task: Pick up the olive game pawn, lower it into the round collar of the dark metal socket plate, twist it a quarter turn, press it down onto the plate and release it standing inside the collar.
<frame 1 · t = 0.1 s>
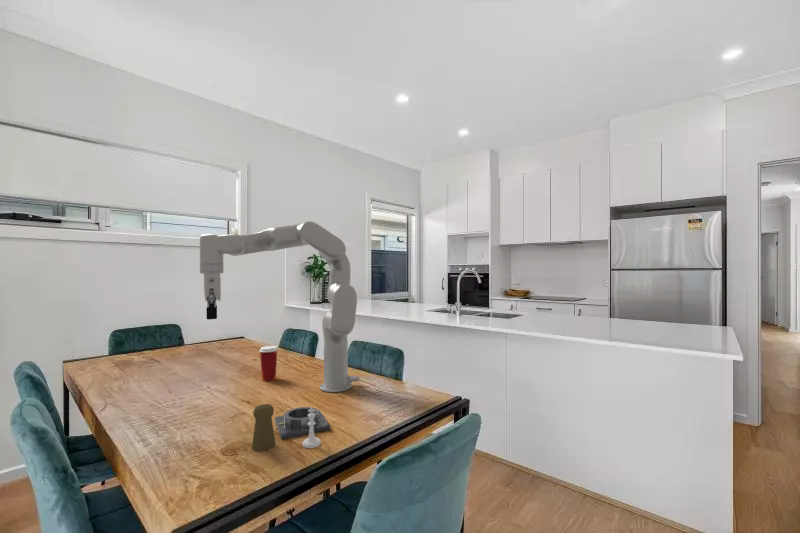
hand: (211, 317, 135), 31 cm above the table, fingers open, 9 cm apart
paper cup: (268, 379, 167), on the table
chess piece: (311, 444, 105), on the table
olive game pawn: (263, 446, 104), on the table
socket: (301, 425, 117), on the table
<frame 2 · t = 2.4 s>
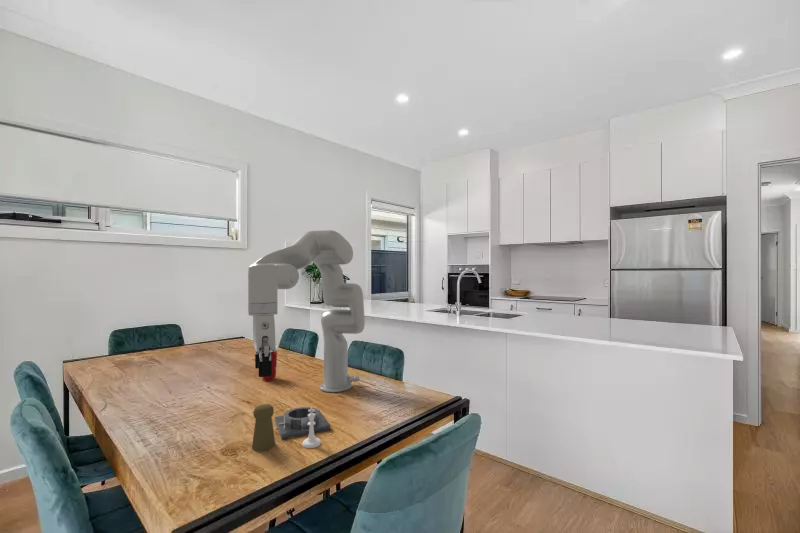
hand: (263, 371, 104), 20 cm above the table, fingers open, 9 cm apart
nothing on the table moved.
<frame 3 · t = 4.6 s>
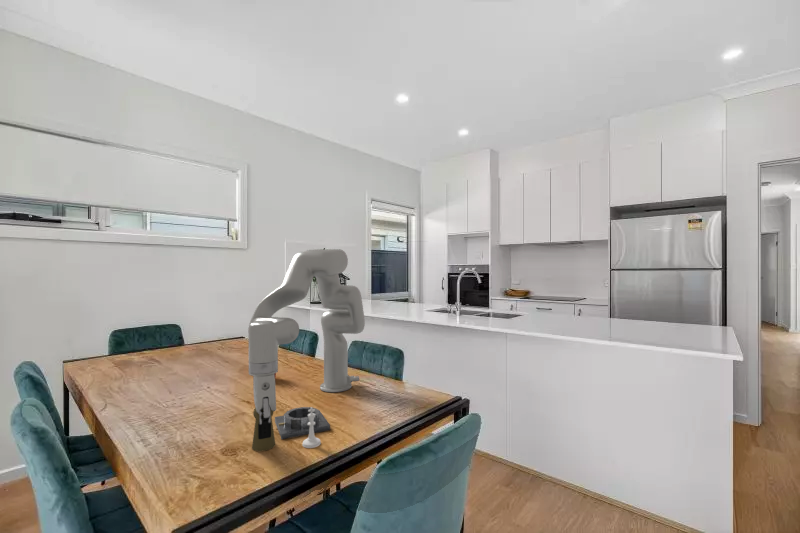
hand: (263, 433, 104), 3 cm above the table, fingers closed on olive game pawn, 4 cm apart
olive game pawn: (263, 446, 104), on the table, touching gripper
everything else where it was.
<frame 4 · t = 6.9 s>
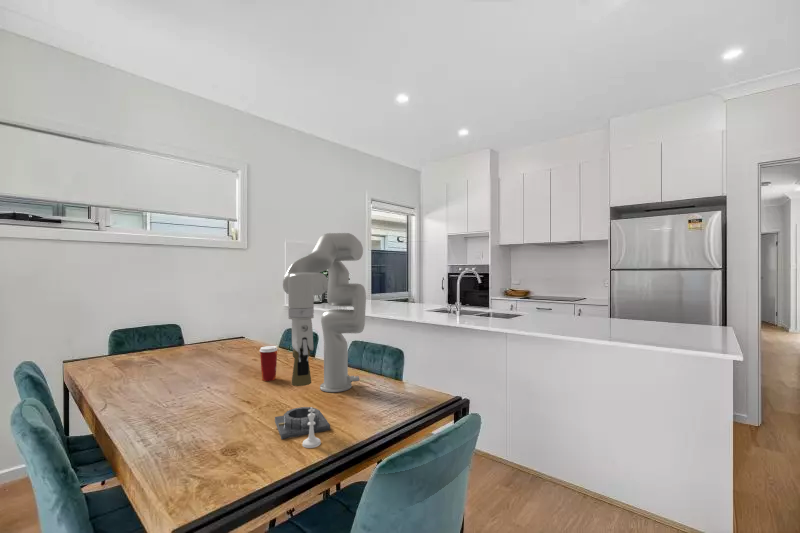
hand: (301, 372, 117), 16 cm above the table, fingers closed on olive game pawn, 4 cm apart
olive game pawn: (301, 383, 117), point 13 cm above the table, touching gripper
everything else where it was.
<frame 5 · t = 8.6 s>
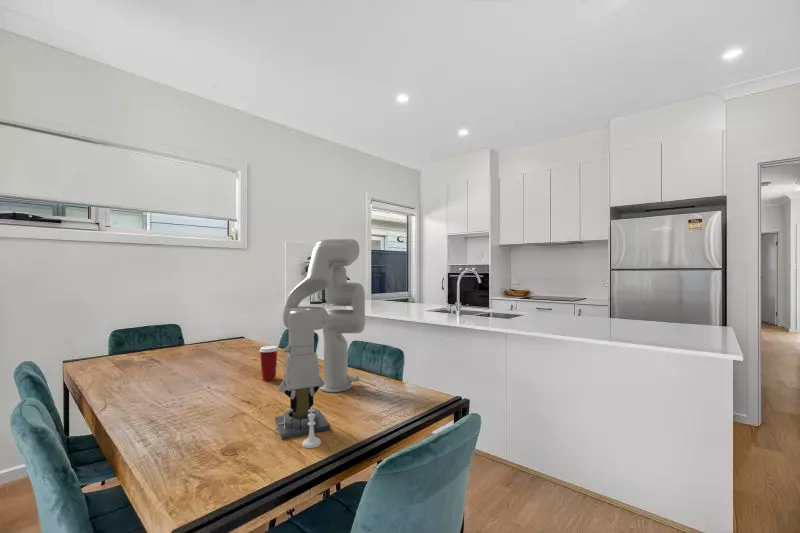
hand: (301, 408, 117), 5 cm above the table, fingers closed on olive game pawn, 4 cm apart
olive game pawn: (302, 420, 117), point 2 cm above the table, touching gripper
everything else where it was.
when the fingers open (5 cm above the table, at t = 9.4 s): olive game pawn stays where it is, resting on socket.
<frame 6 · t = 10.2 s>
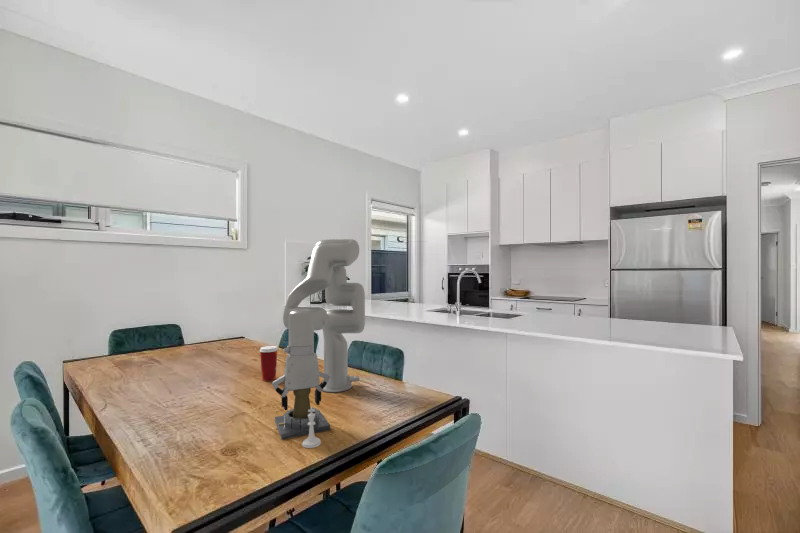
hand: (301, 406, 117), 6 cm above the table, fingers open, 9 cm apart
olive game pawn: (302, 421, 117), point 1 cm above the table, touching socket
everything else where it was.
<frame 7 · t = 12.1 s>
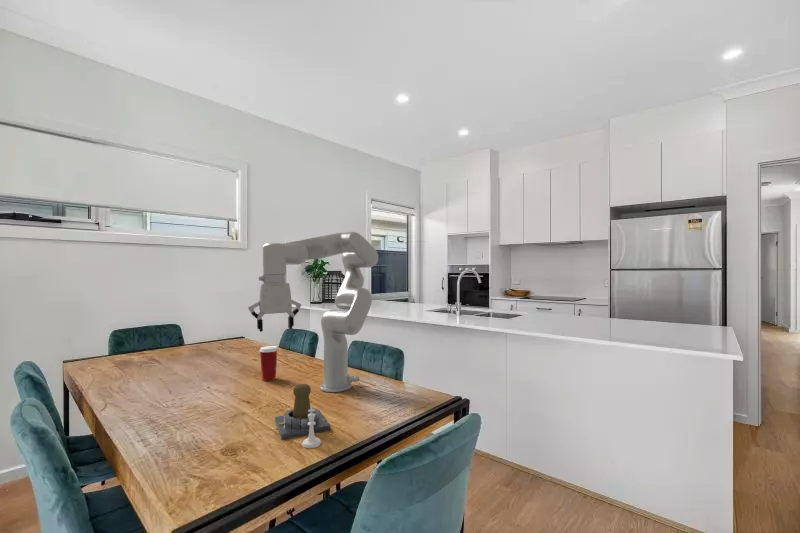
hand: (275, 329, 130), 28 cm above the table, fingers open, 9 cm apart
nothing on the table moved.
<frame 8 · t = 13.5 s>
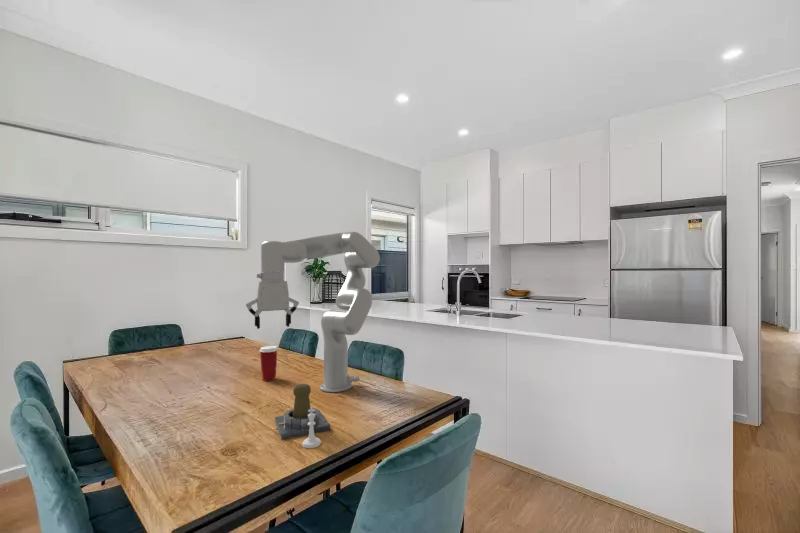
hand: (273, 327, 131), 28 cm above the table, fingers open, 9 cm apart
nothing on the table moved.
at the end: olive game pawn 0.3 cm off-centre on the socket, point 1.3 cm above the socket's base; olive game pawn tilted 0°; the gripper is holding nothing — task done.
